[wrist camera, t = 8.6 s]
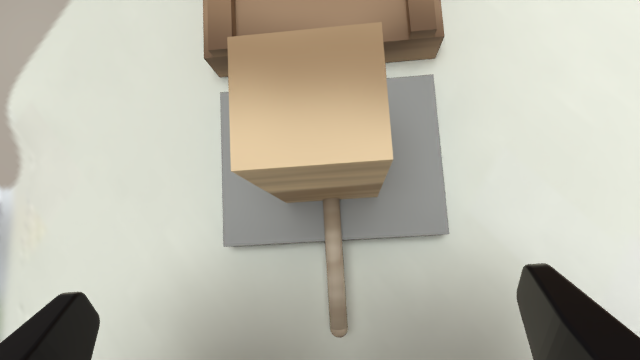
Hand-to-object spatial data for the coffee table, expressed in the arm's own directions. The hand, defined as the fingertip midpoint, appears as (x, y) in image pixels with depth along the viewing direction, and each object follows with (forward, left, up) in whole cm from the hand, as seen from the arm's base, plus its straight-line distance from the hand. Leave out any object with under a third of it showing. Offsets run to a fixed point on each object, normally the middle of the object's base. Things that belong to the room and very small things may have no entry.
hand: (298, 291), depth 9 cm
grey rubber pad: (+5, 0, -14) cm, 15 cm away
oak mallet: (+2, 0, -12) cm, 12 cm away
